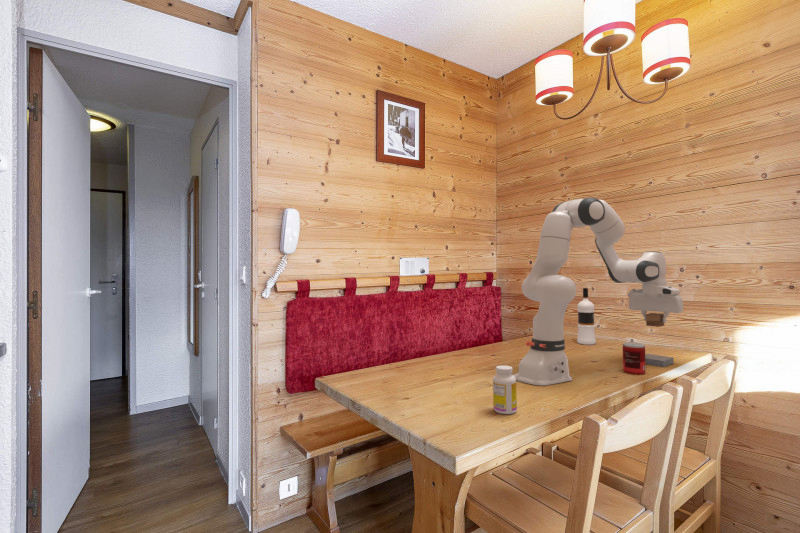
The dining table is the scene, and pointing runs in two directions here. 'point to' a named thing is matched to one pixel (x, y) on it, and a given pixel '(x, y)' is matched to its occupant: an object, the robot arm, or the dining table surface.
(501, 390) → the supplement bottle
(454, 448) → the dining table surface
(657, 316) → the walnut block
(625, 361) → the canned food
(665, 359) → the slate tile
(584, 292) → the vodka
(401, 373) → the dining table surface
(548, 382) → the robot arm
